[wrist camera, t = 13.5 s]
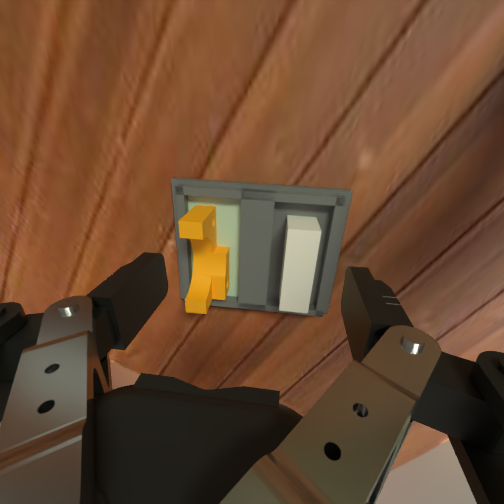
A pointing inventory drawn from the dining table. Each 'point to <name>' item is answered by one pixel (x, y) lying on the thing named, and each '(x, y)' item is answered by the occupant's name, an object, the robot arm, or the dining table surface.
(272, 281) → the dock
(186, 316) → the dining table surface
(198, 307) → the orange stepped block
